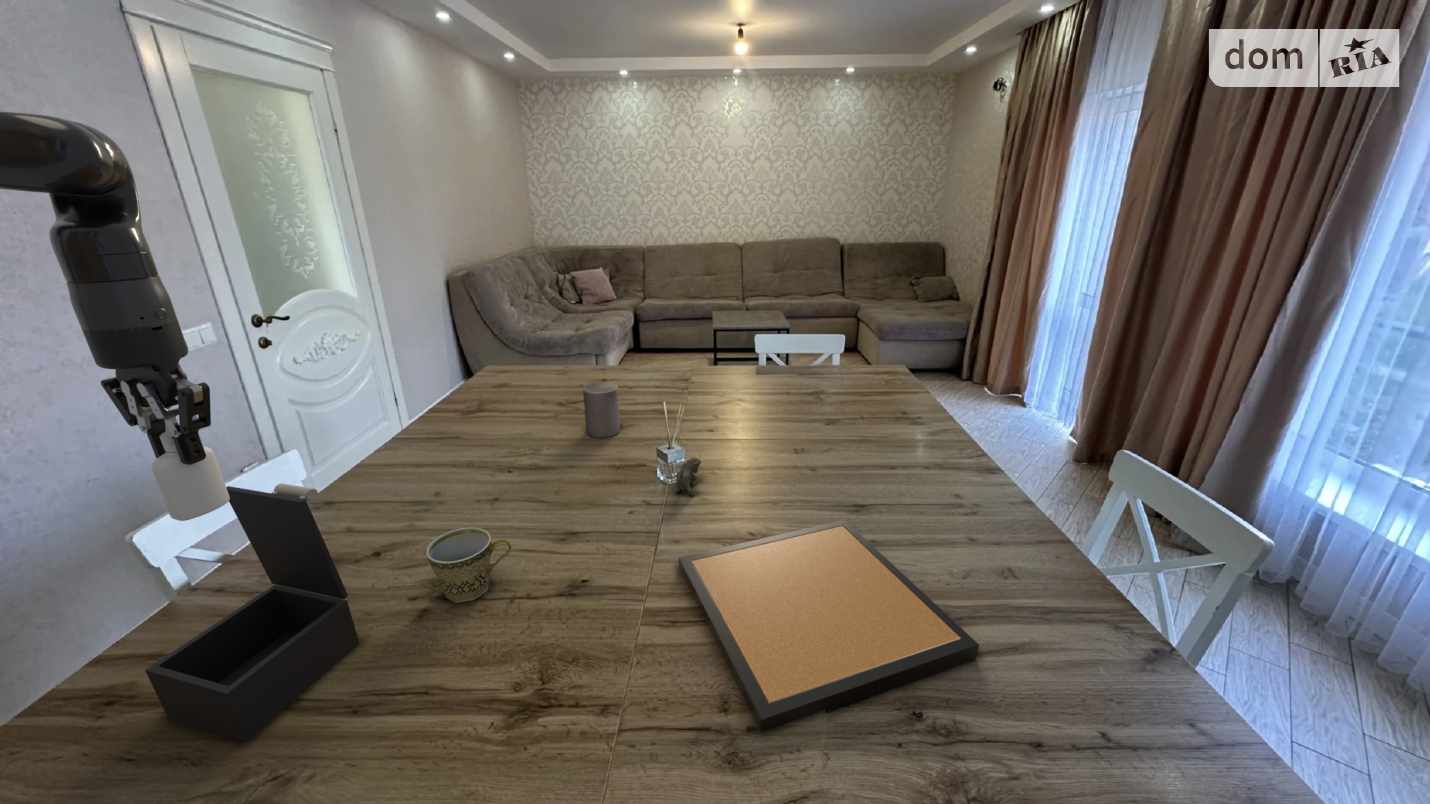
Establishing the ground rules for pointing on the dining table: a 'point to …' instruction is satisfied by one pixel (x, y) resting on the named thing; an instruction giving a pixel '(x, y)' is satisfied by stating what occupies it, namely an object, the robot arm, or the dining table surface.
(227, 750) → the dining table surface
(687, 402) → the dining table surface
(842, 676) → the cork board
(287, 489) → the box lid
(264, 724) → the black box
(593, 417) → the pillar candle
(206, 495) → the eye dropper bottle
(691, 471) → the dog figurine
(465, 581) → the ceramic cup
